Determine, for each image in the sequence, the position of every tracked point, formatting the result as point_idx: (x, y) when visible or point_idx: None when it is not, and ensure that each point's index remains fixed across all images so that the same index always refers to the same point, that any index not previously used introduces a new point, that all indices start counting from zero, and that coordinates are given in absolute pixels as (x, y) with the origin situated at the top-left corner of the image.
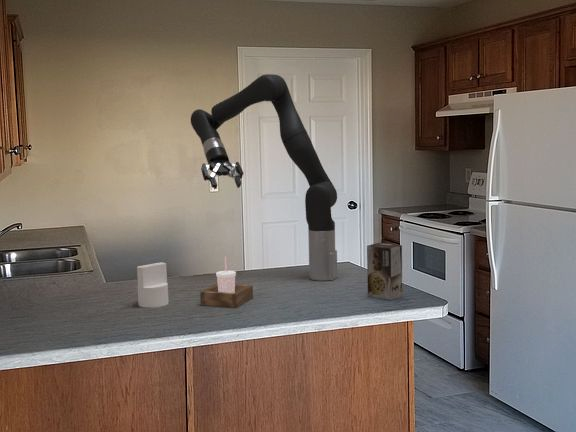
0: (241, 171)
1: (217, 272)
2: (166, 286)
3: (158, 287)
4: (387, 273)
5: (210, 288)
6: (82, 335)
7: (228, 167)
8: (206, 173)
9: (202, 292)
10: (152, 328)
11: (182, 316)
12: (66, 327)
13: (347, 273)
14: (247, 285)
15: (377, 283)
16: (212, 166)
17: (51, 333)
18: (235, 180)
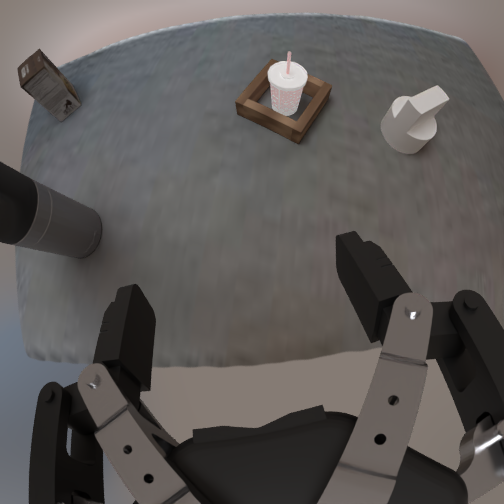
0: (45, 415)
1: (304, 79)
2: (391, 106)
3: (401, 97)
4: (57, 69)
5: (315, 101)
6: (436, 52)
7: (162, 474)
8: (478, 318)
9: (328, 84)
10: (375, 39)
11: (349, 61)
12: (462, 82)
13: (40, 260)
14: (244, 102)
15: (68, 85)
16: (433, 477)
17: (465, 71)
18: (142, 368)
